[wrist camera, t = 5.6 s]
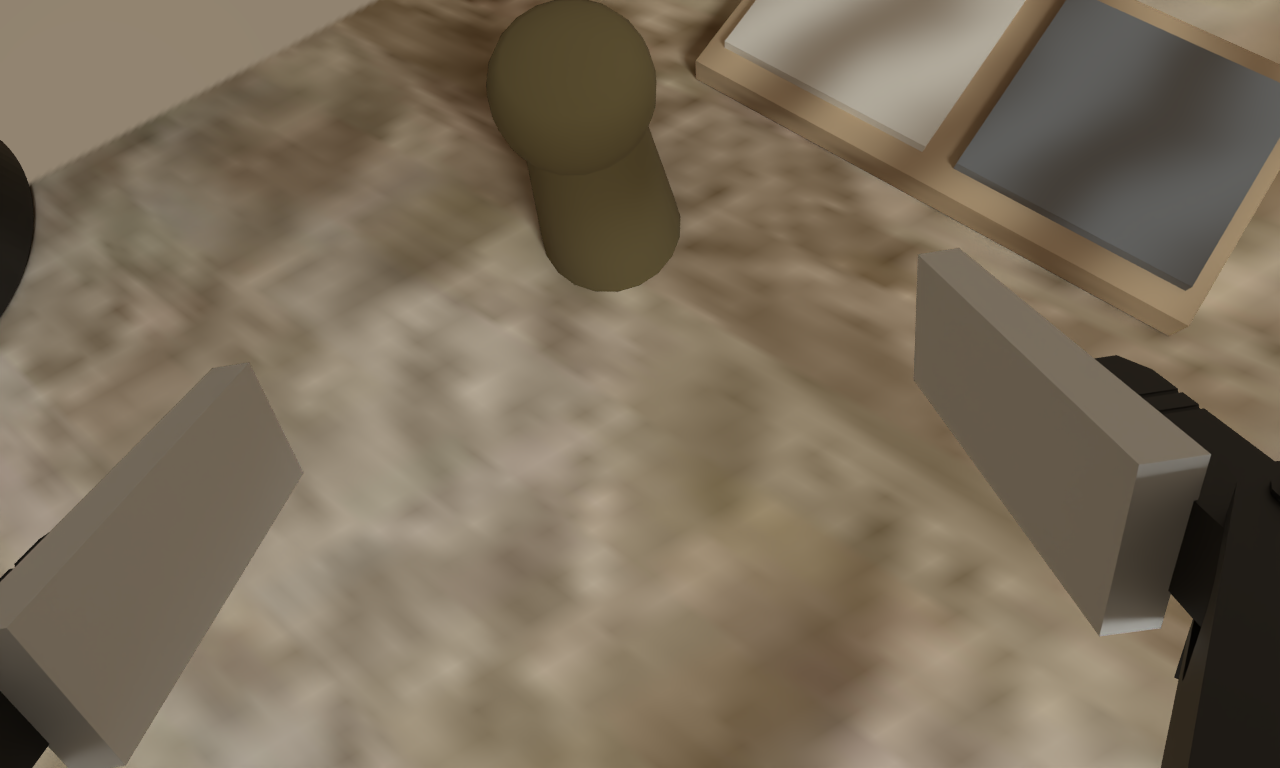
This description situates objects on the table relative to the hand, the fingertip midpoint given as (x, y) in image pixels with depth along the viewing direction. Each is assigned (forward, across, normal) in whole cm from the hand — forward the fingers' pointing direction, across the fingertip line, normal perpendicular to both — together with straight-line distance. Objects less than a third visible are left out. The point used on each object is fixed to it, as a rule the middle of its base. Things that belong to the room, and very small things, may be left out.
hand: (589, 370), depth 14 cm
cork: (+18, 0, +3) cm, 18 cm away
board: (+20, -17, 0) cm, 26 cm away
